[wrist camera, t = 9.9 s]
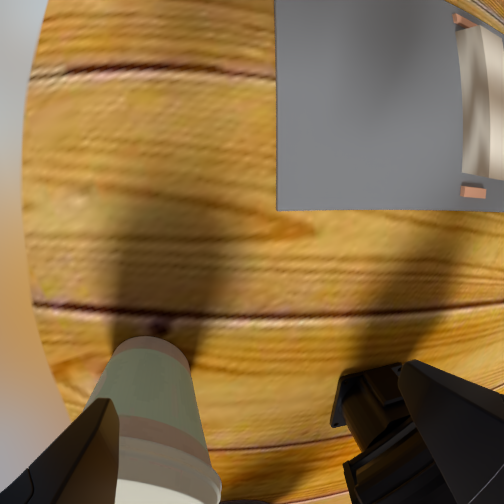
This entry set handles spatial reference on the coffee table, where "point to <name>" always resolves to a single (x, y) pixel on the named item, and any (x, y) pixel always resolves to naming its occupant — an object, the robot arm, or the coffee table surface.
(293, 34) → the mat
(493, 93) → the t block
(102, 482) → the robot arm
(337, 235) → the coffee table surface
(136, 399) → the coffee cup
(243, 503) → the lantern
